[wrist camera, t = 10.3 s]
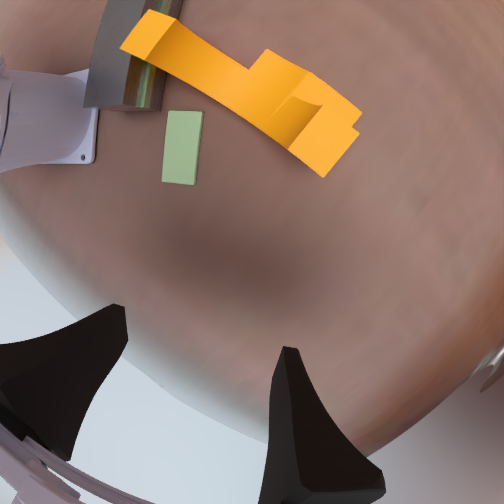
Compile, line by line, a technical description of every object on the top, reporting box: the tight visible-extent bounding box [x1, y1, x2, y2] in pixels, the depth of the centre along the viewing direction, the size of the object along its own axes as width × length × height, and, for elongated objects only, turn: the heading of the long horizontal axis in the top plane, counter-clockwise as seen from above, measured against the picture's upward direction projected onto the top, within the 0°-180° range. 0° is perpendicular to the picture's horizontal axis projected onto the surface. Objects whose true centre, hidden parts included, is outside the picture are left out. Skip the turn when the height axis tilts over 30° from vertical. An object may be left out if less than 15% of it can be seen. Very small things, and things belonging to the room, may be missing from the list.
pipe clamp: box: [119, 9, 362, 178], centre depth 12 cm, size 12×4×6 cm, turn 54°
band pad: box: [162, 111, 204, 185], centre depth 17 cm, size 2×5×1 cm, turn 172°
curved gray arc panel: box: [83, 0, 183, 112], centre depth 11 cm, size 3×14×5 cm, turn 172°
